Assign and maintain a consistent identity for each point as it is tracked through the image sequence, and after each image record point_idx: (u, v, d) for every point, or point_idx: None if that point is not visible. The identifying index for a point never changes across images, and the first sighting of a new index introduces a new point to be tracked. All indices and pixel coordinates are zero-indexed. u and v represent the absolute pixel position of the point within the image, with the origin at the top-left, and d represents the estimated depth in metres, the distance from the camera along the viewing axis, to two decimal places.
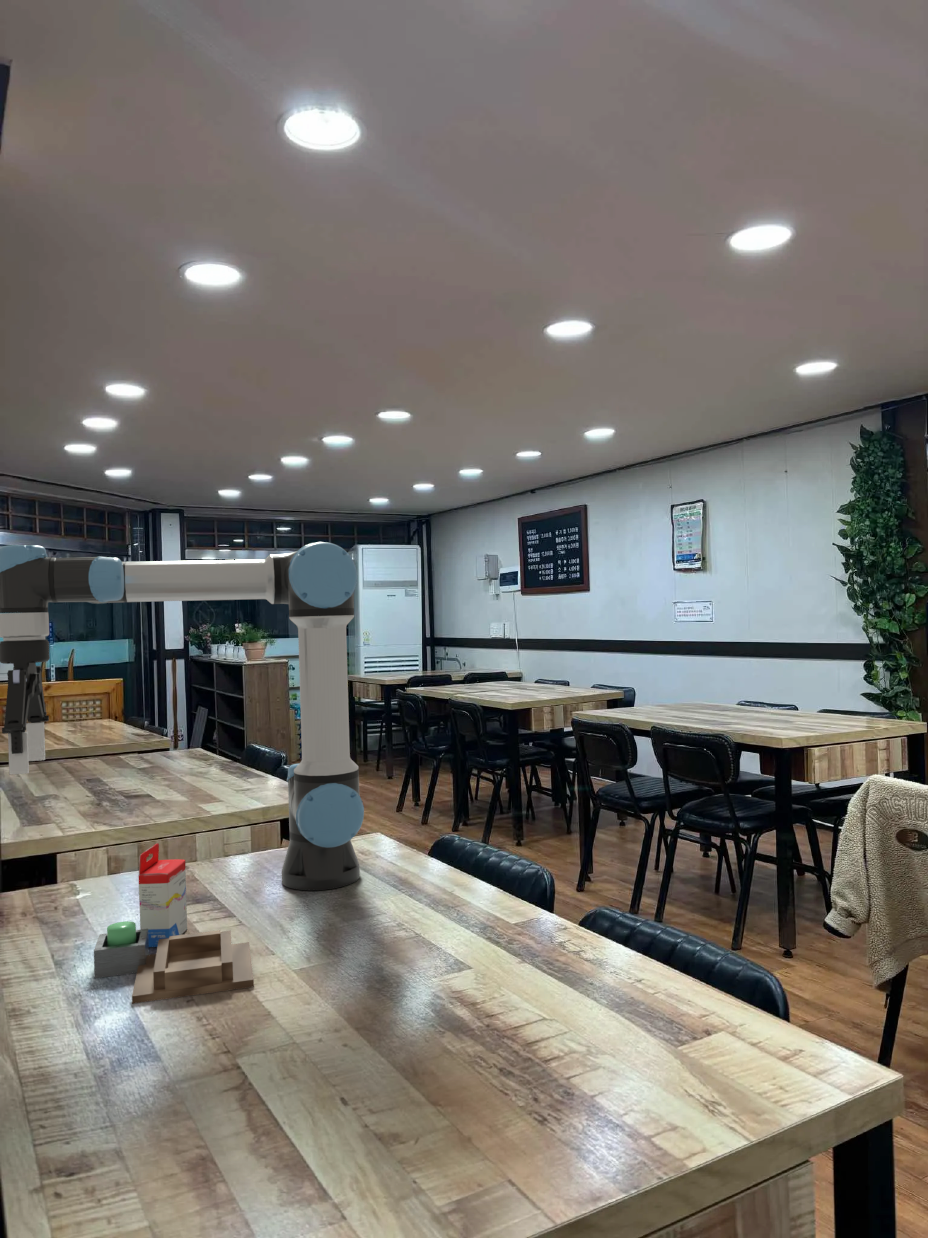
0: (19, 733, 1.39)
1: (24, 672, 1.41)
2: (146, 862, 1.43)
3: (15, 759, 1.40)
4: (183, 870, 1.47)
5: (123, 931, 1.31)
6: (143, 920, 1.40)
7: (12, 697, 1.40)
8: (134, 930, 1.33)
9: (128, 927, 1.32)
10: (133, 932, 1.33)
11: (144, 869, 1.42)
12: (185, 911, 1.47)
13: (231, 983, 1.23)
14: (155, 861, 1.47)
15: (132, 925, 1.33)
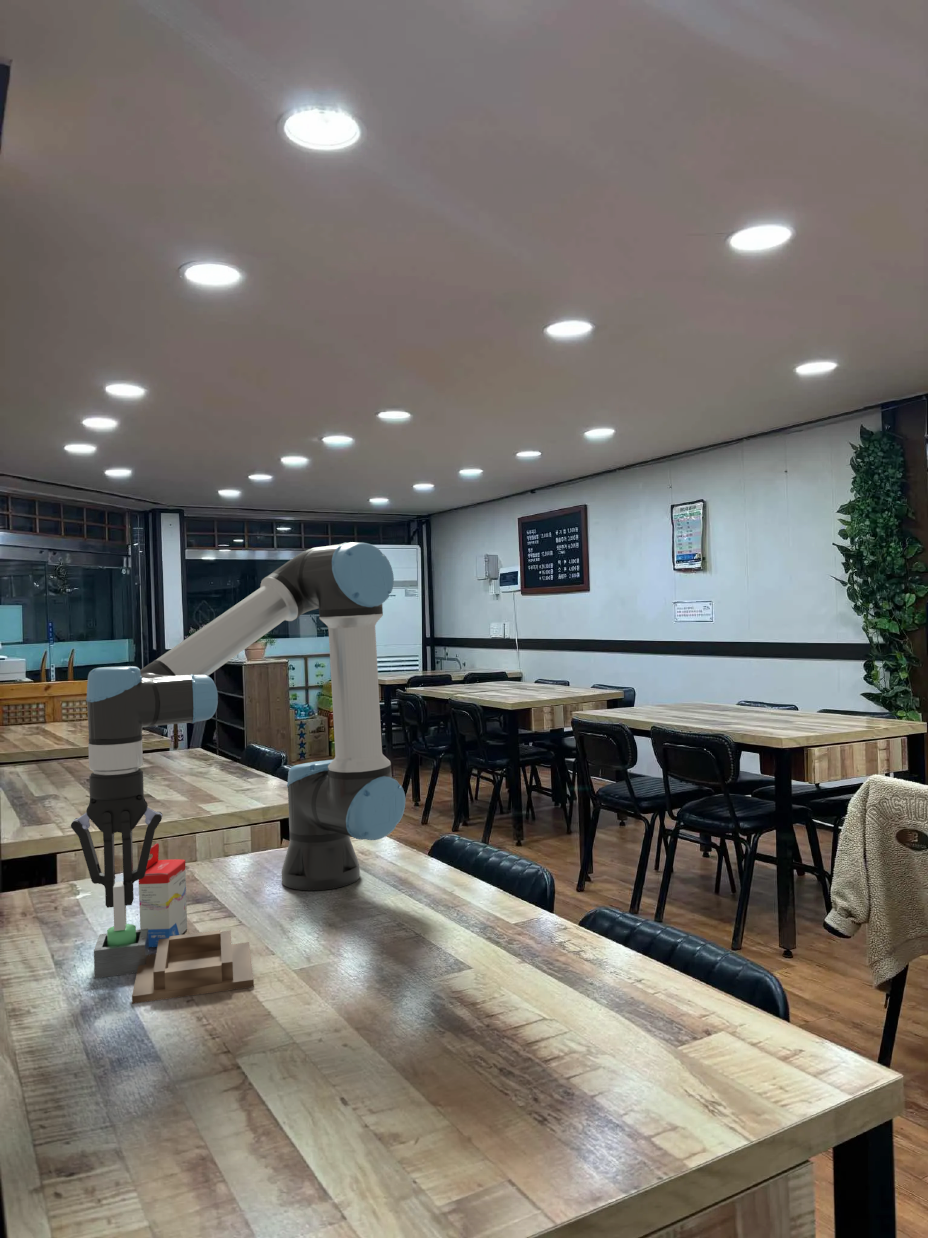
0: (104, 886, 1.32)
1: (72, 826, 1.30)
2: None
3: None
4: (183, 870, 1.47)
5: (124, 934, 1.31)
6: (143, 920, 1.40)
7: None
8: (134, 933, 1.33)
9: (128, 930, 1.32)
10: (133, 935, 1.33)
11: None
12: (185, 911, 1.47)
13: (231, 983, 1.23)
14: (155, 861, 1.47)
15: (132, 928, 1.33)
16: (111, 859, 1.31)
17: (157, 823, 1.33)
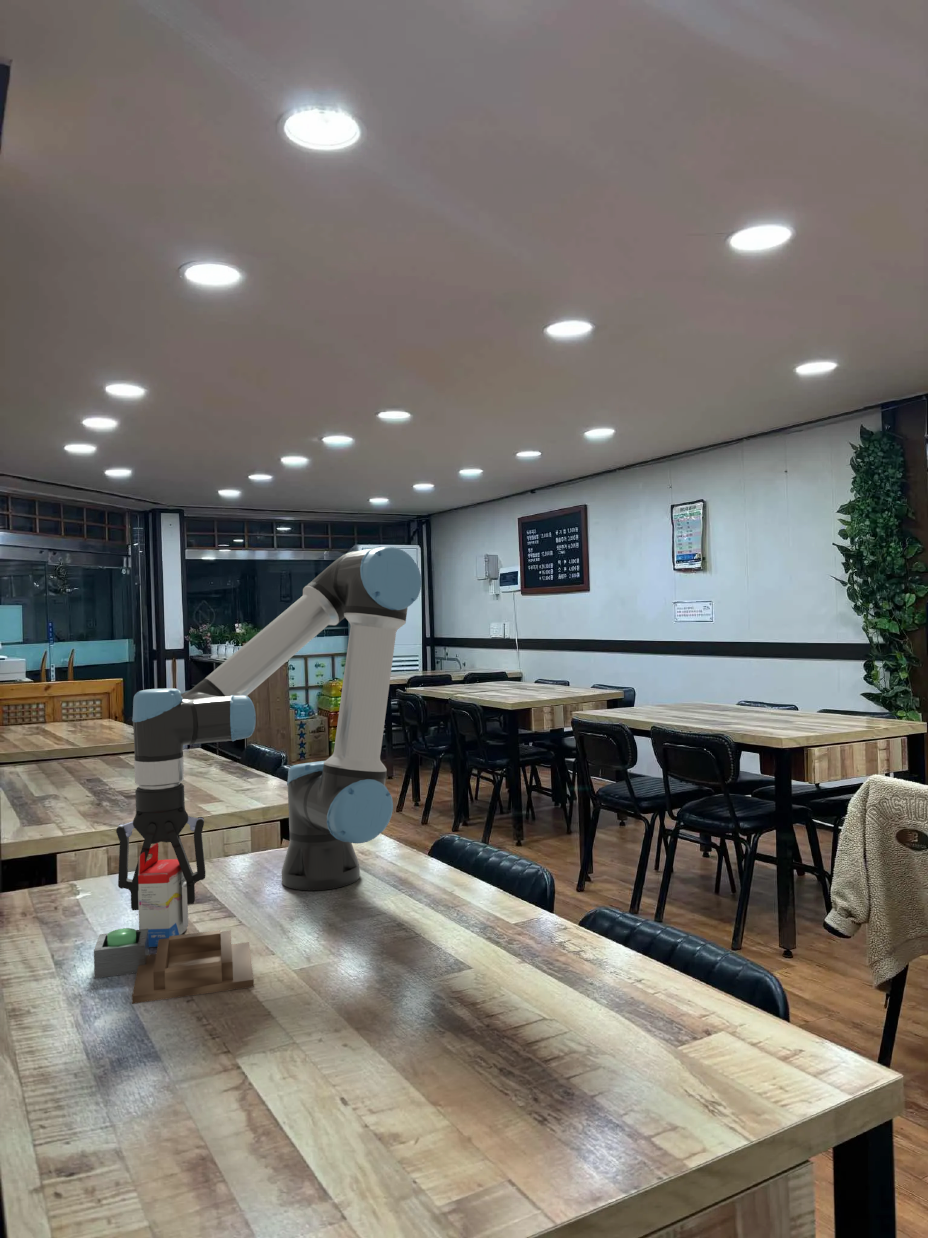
0: (130, 891, 1.42)
1: (117, 830, 1.41)
2: (146, 862, 1.43)
3: None
4: None
5: (124, 938, 1.31)
6: (143, 920, 1.40)
7: None
8: (134, 937, 1.33)
9: (128, 934, 1.32)
10: (133, 939, 1.33)
11: (144, 869, 1.42)
12: None
13: (231, 983, 1.23)
14: (155, 861, 1.47)
15: (132, 932, 1.33)
16: None
17: (201, 827, 1.45)
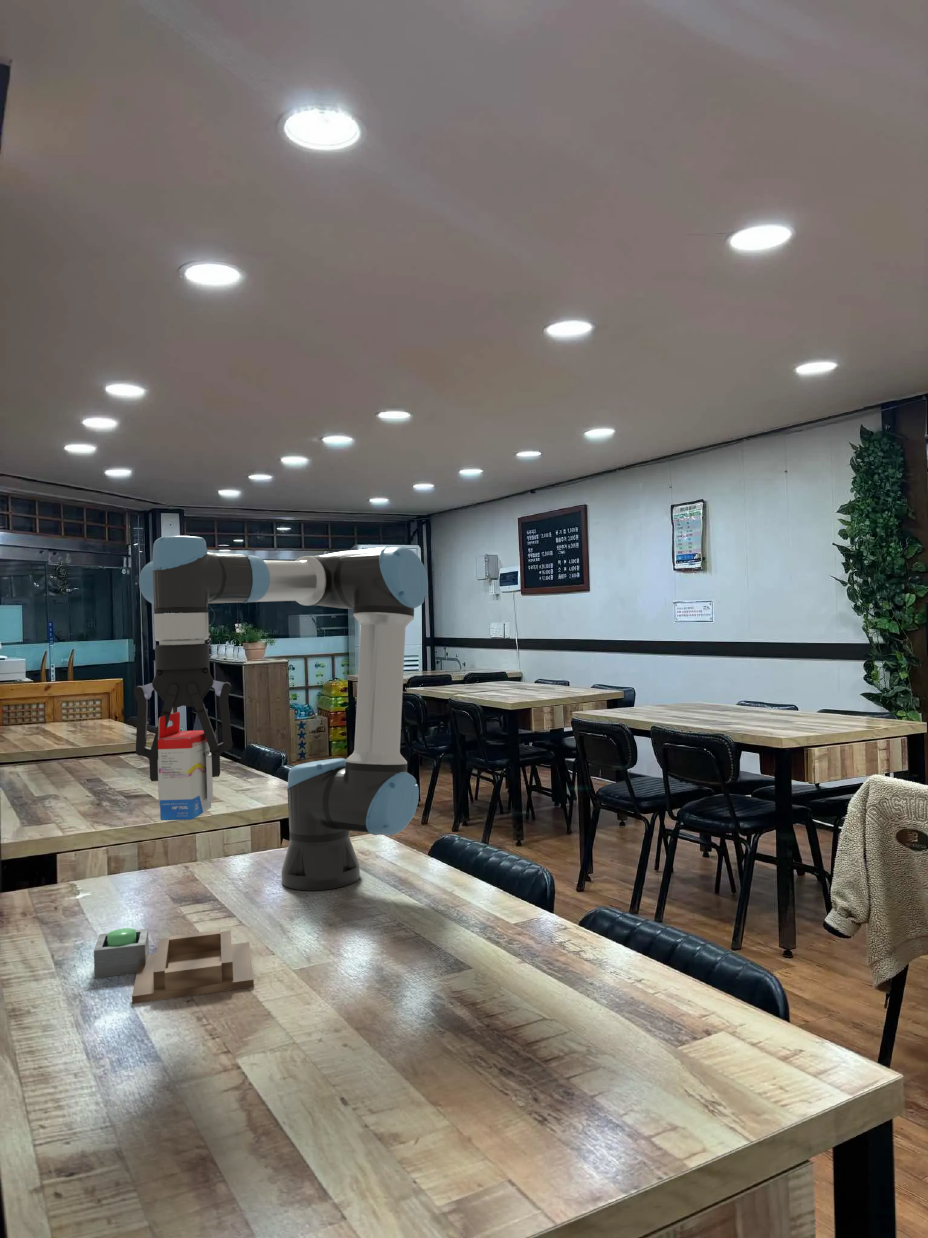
0: None
1: (134, 691, 1.27)
2: (166, 728, 1.28)
3: None
4: None
5: (124, 938, 1.31)
6: (163, 789, 1.25)
7: None
8: (134, 937, 1.33)
9: (128, 934, 1.32)
10: (133, 939, 1.33)
11: (164, 735, 1.27)
12: None
13: (231, 983, 1.23)
14: (176, 731, 1.32)
15: (132, 932, 1.33)
16: None
17: (228, 691, 1.30)
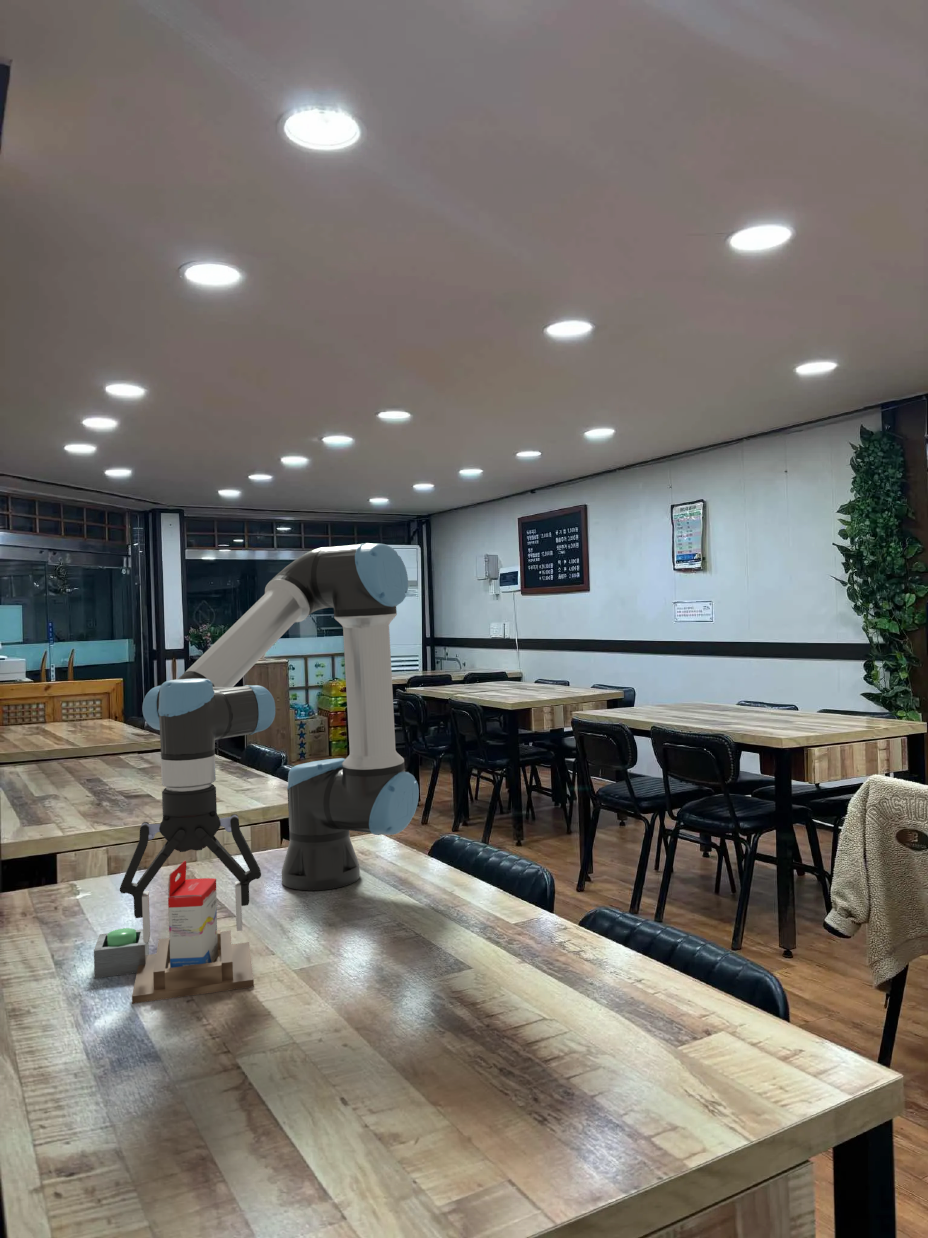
0: (133, 896, 1.26)
1: (141, 829, 1.26)
2: (175, 882, 1.28)
3: None
4: (214, 890, 1.32)
5: (124, 938, 1.31)
6: (173, 948, 1.25)
7: None
8: (134, 937, 1.33)
9: (128, 934, 1.32)
10: (133, 939, 1.33)
11: (173, 890, 1.27)
12: (216, 936, 1.33)
13: (231, 983, 1.23)
14: (183, 881, 1.32)
15: (132, 932, 1.33)
16: (155, 873, 1.27)
17: (237, 825, 1.30)
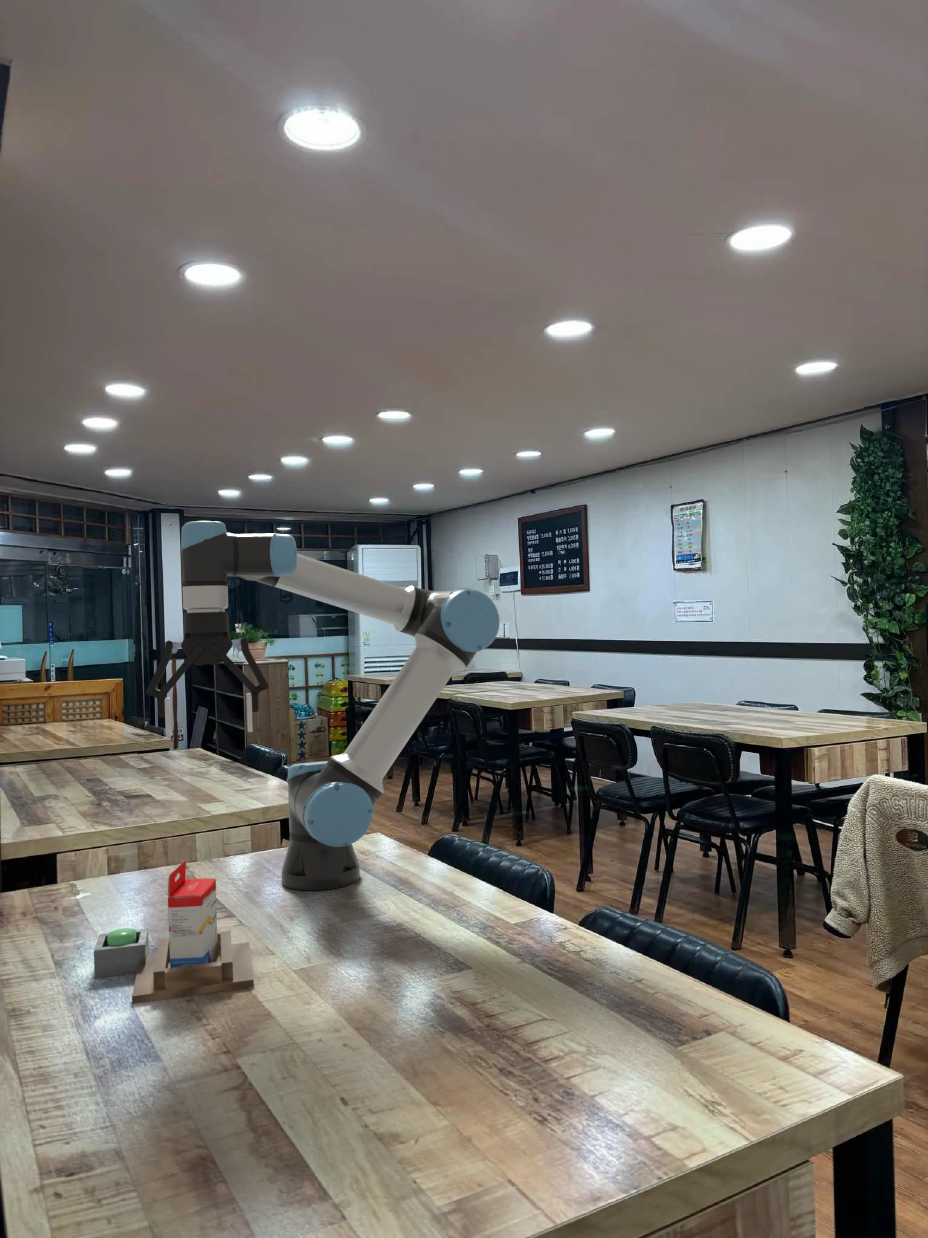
0: (157, 698, 1.51)
1: (166, 643, 1.51)
2: (175, 882, 1.28)
3: None
4: (214, 890, 1.32)
5: (124, 938, 1.31)
6: (173, 948, 1.25)
7: None
8: (134, 937, 1.33)
9: (128, 934, 1.32)
10: (133, 939, 1.33)
11: (173, 890, 1.27)
12: (216, 936, 1.33)
13: (231, 983, 1.23)
14: (182, 881, 1.32)
15: (132, 932, 1.33)
16: (176, 680, 1.51)
17: (246, 644, 1.54)
